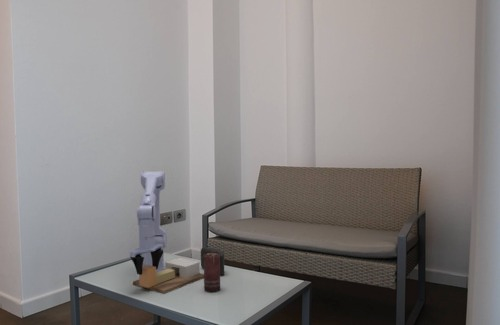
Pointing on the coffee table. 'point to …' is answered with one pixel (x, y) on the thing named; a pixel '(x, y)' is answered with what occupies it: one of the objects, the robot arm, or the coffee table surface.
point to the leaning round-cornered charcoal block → (205, 250)
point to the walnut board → (172, 283)
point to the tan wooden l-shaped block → (154, 276)
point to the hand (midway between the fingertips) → (147, 271)
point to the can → (211, 271)
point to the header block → (184, 267)
